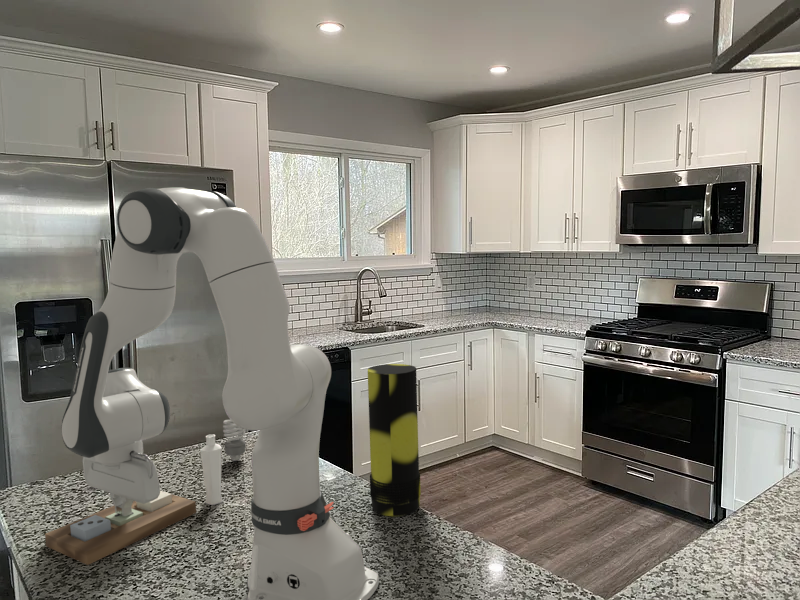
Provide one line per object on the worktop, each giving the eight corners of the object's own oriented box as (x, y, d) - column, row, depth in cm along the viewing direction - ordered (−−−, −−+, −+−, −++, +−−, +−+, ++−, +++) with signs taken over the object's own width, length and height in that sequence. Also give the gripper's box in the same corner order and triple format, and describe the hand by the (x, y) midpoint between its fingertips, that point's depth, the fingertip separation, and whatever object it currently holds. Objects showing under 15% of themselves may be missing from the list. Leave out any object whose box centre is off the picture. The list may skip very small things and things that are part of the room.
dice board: (196, 512, 128) (195, 501, 128) (87, 565, 108) (86, 551, 107) (154, 499, 135) (154, 488, 135) (46, 546, 115) (44, 533, 115)
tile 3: (111, 532, 116) (110, 519, 116) (86, 544, 112) (85, 530, 112) (96, 527, 119) (95, 514, 119) (71, 537, 115) (70, 524, 114)
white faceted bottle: (219, 506, 131) (215, 439, 129) (200, 505, 132) (196, 438, 130) (229, 497, 135) (225, 432, 134) (211, 496, 136) (207, 432, 135)
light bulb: (234, 466, 154) (232, 421, 153) (220, 462, 158) (217, 418, 156) (251, 459, 159) (249, 415, 158) (236, 456, 162) (234, 413, 161)
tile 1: (172, 505, 128) (171, 493, 128) (151, 514, 124) (150, 502, 124) (157, 500, 131) (156, 489, 130) (136, 509, 126) (136, 497, 126)
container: (431, 504, 129) (428, 367, 126) (397, 522, 121) (393, 376, 118) (394, 491, 136) (390, 361, 133) (360, 508, 128) (355, 370, 125)
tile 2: (143, 524, 122) (142, 511, 122) (121, 534, 118) (120, 521, 118) (128, 518, 125) (127, 506, 125) (106, 528, 121) (105, 516, 120)
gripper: (165, 451, 117) (170, 519, 118) (104, 435, 128) (108, 498, 129) (136, 461, 112) (141, 532, 113) (75, 444, 123) (80, 509, 124)
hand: (123, 514), depth 121 cm, fingers closed, pressing on tile 2
